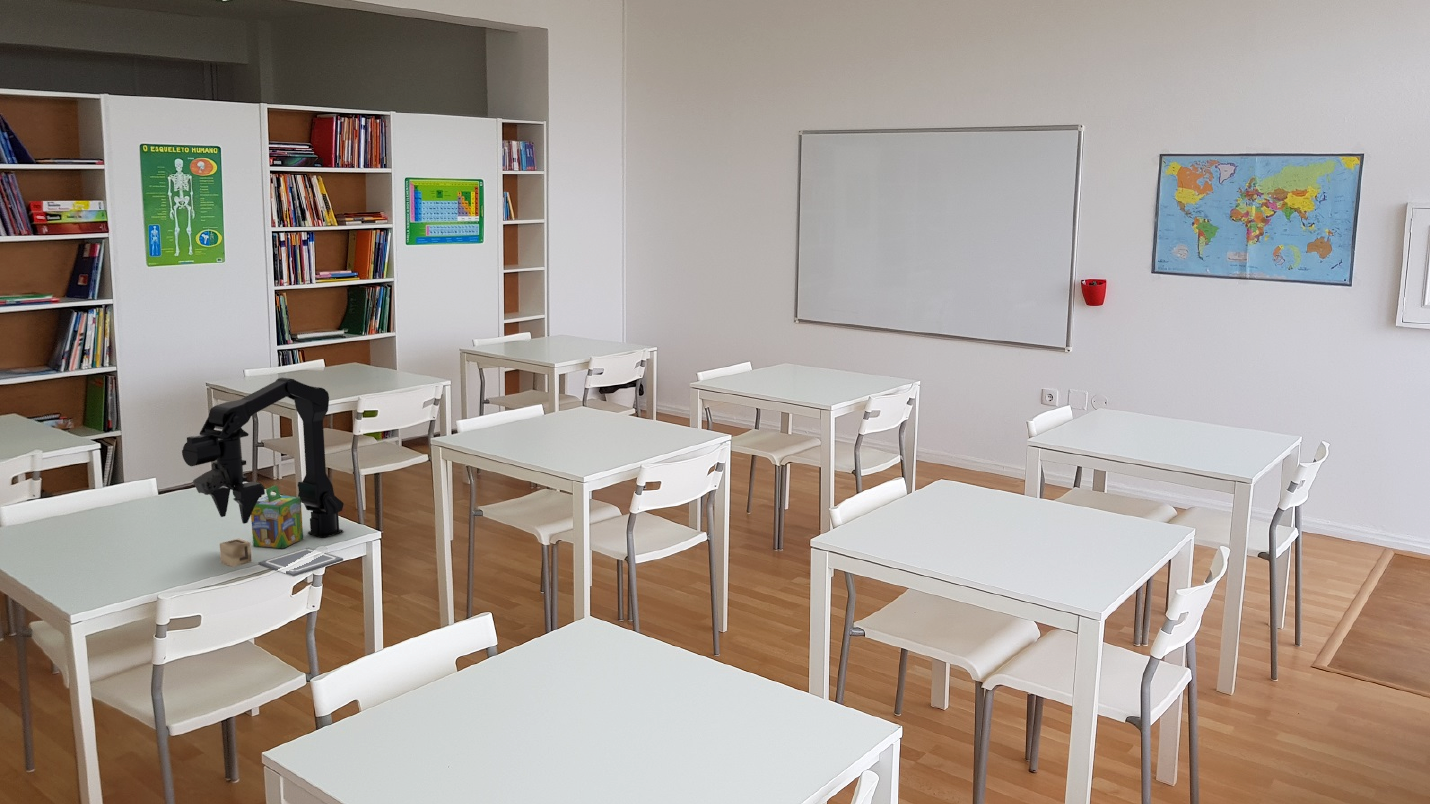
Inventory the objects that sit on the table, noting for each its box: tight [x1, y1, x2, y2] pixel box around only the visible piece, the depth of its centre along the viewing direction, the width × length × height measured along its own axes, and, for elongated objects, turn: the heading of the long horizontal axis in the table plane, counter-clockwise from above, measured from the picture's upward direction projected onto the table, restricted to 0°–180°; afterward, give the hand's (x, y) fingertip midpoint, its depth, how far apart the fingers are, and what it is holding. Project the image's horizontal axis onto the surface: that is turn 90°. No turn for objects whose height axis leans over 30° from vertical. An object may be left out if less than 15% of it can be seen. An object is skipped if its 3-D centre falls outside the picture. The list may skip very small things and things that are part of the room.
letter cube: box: [219, 538, 253, 568], centre depth 270 cm, size 5×5×5 cm
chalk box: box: [250, 484, 304, 549], centre depth 284 cm, size 9×9×15 cm
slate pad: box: [257, 547, 344, 577], centre depth 271 cm, size 14×14×1 cm
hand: (234, 519), depth 269 cm, fingers open, 9 cm apart
